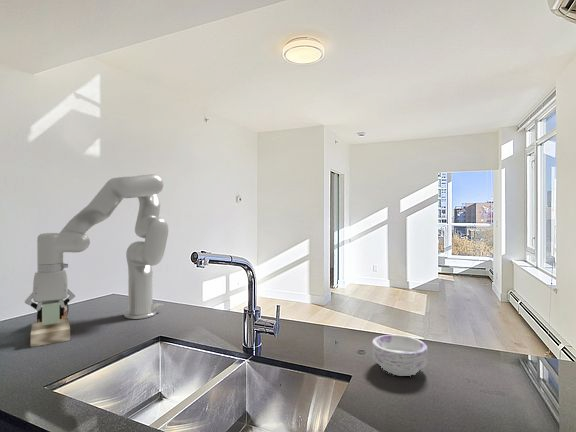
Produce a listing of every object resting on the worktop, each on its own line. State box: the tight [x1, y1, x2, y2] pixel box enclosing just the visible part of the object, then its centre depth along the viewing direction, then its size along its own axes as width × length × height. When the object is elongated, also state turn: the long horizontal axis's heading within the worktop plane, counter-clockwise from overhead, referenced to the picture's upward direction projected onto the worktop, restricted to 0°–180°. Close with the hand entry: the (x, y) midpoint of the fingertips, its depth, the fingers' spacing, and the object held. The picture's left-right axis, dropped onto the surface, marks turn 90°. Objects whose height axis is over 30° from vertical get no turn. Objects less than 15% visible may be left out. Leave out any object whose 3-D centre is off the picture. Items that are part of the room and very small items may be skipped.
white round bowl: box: [371, 334, 429, 375], centre depth 100 cm, size 15×15×8 cm
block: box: [41, 300, 60, 325], centre depth 122 cm, size 5×5×7 cm
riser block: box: [30, 317, 71, 348], centre depth 122 cm, size 11×14×4 cm
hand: (50, 318), depth 122 cm, fingers closed on block, 5 cm apart
